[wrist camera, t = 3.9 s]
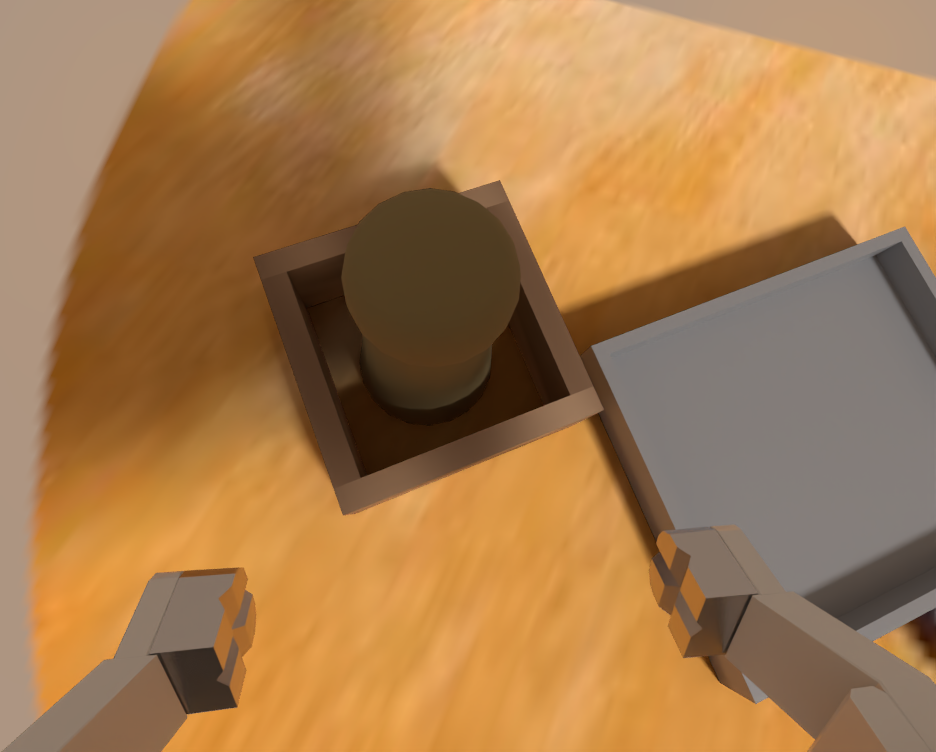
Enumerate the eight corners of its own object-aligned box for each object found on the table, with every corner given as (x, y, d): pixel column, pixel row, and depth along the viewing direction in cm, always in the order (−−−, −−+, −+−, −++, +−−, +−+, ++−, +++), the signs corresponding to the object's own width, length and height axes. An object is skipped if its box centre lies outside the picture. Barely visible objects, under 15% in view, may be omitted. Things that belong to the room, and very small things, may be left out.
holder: (487, 227, 27) (499, 180, 23) (574, 424, 25) (604, 409, 21) (278, 295, 25) (253, 257, 21) (355, 513, 23) (343, 515, 19)
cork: (381, 283, 26) (357, 126, 15) (504, 317, 26) (567, 186, 15) (342, 405, 24) (284, 327, 13) (473, 440, 24) (518, 391, 14)
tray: (863, 250, 28) (904, 226, 26) (1022, 524, 26) (1085, 526, 23) (574, 360, 26) (591, 345, 23) (720, 682, 23) (755, 703, 20)
